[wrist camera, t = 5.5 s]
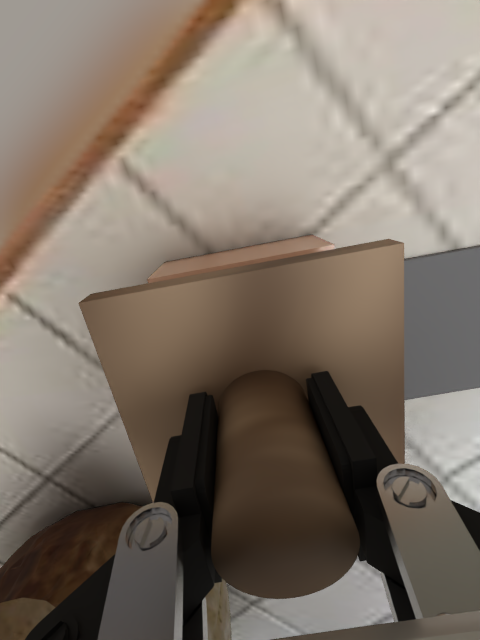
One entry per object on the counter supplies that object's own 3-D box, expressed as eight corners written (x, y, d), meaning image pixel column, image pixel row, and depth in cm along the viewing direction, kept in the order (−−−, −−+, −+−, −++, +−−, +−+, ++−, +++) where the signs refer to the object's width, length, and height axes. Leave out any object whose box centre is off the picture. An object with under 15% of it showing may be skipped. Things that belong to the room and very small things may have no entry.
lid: (388, 239, 11) (561, 286, 5) (393, 471, 14) (498, 650, 9) (91, 294, 11) (-50, 394, 6) (167, 507, 15) (128, 701, 9)
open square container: (325, 366, 23) (347, 404, 19) (197, 388, 23) (190, 431, 19) (312, 234, 20) (334, 244, 16) (164, 262, 20) (147, 279, 16)
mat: (476, 384, 24) (480, 387, 23) (336, 407, 24) (338, 410, 24) (487, 244, 20) (492, 245, 20) (324, 273, 21) (325, 275, 20)
